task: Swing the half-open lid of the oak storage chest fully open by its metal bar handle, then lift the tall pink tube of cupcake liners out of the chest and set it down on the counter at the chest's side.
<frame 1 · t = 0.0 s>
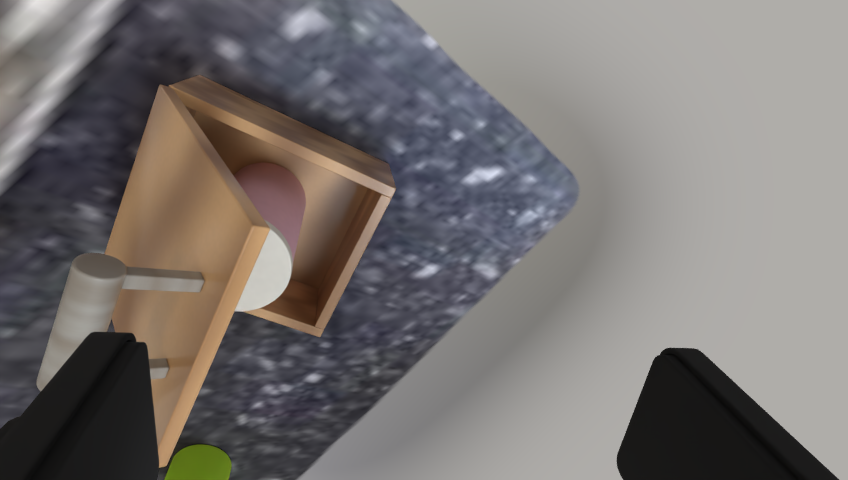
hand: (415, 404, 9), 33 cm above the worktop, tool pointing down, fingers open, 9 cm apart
lid: (111, 249, 25), point 16 cm above the worktop, hinge at 60.0°
soap dispenser: (198, 461, 51), on the worktop
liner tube: (266, 199, 40), point 1 cm above the worktop, touching chest
chest: (268, 196, 40), on the worktop
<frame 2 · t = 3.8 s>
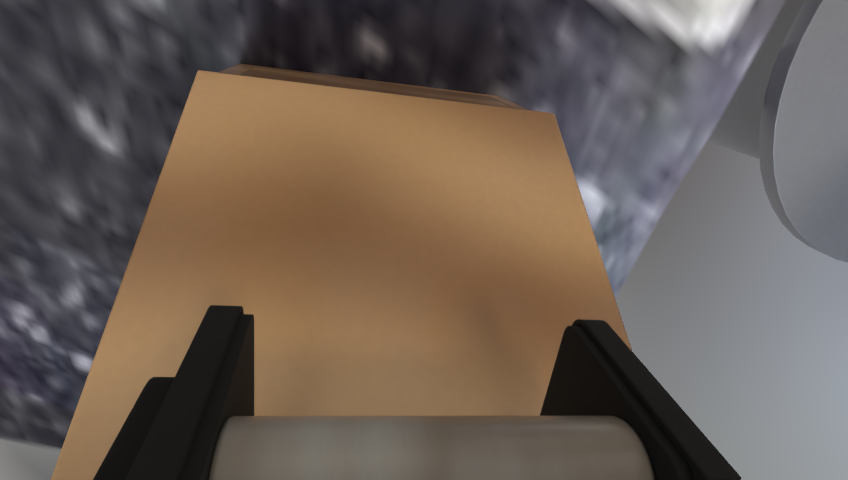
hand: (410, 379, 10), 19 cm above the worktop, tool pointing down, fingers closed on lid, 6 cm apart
lid: (402, 232, 12), point 16 cm above the worktop, hinge at 60.0°, touching gripper
chest: (363, 219, 28), on the worktop
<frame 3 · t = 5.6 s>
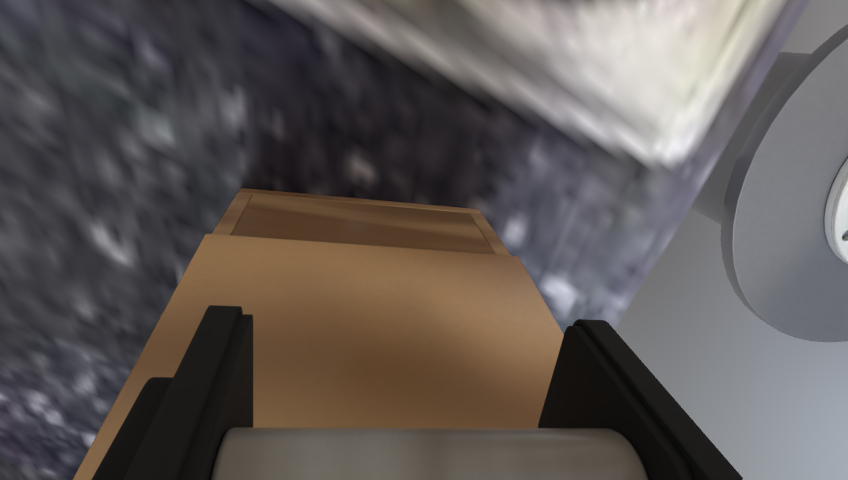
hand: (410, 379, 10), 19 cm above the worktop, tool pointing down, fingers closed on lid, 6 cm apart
lid: (390, 330, 13), point 16 cm above the worktop, hinge at 84.6°, touching gripper
chest: (353, 315, 31), on the worktop
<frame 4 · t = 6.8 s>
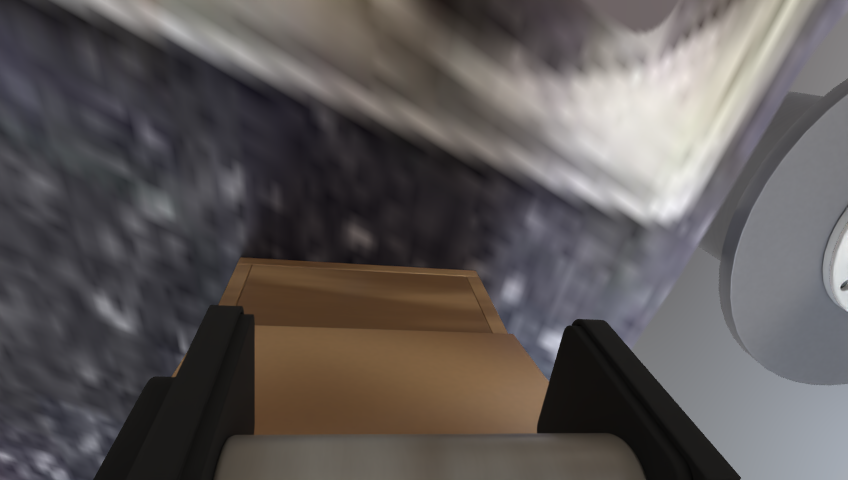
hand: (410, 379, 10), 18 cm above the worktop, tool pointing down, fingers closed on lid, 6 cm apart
lid: (387, 390, 13), point 15 cm above the worktop, hinge at 98.7°, touching gripper
chest: (352, 372, 31), on the worktop
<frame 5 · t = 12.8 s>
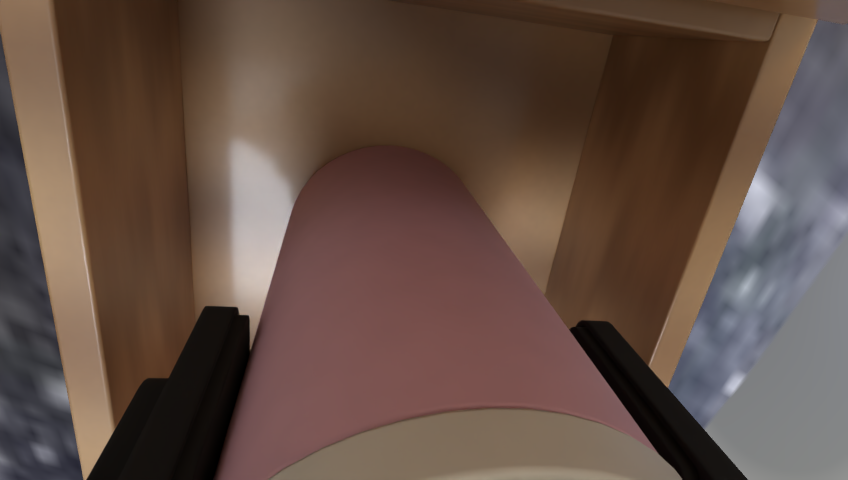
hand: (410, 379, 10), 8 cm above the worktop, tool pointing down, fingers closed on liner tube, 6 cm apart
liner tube: (385, 238, 16), point 1 cm above the worktop, touching chest, gripper
chest: (384, 229, 17), on the worktop
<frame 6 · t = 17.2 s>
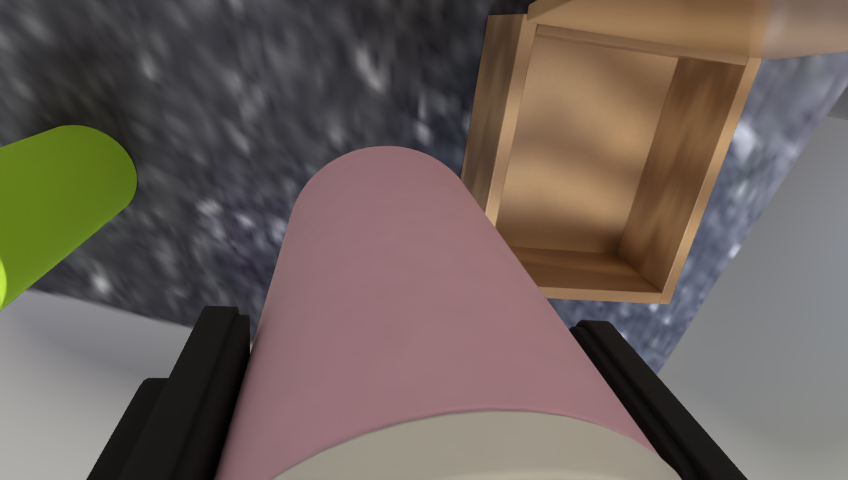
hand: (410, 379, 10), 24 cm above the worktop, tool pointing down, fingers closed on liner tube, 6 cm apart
soap dispenser: (90, 164, 30), on the worktop
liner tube: (385, 239, 16), point 17 cm above the worktop, touching gripper
chest: (561, 152, 34), on the worktop
when the fingers open (7 cm above the worktop, at t = 21.4 s): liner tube stays where it is, on the worktop.
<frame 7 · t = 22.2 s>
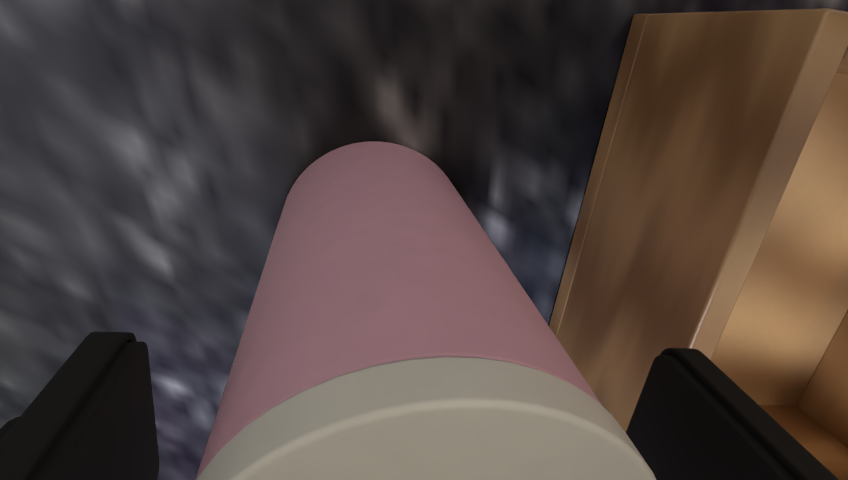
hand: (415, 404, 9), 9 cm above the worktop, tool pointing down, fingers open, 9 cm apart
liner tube: (374, 230, 17), on the worktop
chest: (728, 252, 20), on the worktop
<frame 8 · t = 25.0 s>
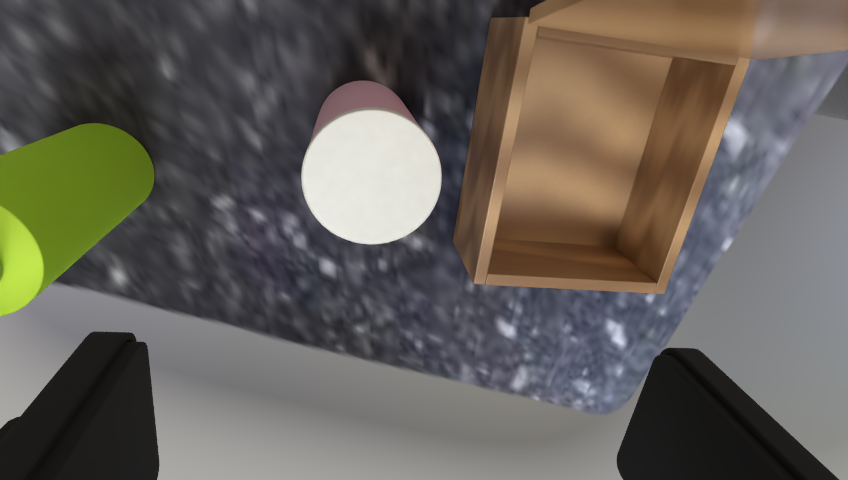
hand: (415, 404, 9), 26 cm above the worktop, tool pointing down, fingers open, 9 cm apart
soap dispenser: (109, 161, 32), on the worktop
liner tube: (364, 128, 33), on the worktop
chest: (560, 148, 35), on the worktop
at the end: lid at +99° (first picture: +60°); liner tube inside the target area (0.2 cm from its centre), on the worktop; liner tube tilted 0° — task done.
